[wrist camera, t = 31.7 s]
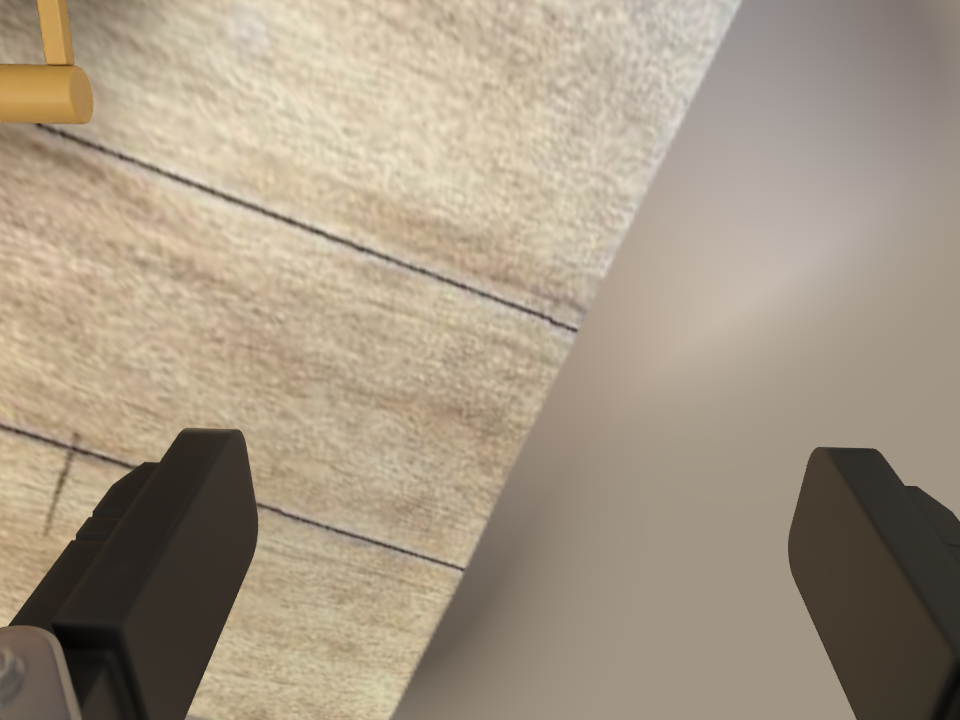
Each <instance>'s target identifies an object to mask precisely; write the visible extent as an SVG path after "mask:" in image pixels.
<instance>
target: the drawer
mask: <svg viewBox="0 0 960 720" xmlns="http://www.w3.org/2000/svg"><path fill="white" fill-rule="evenodd" d="M37 6H38V13H39V20H40V27H41V33H42V40H43V47H44V54H45V60H46V63H47V64H48V65H30V64H0V122H9V123H58V124H85V123H87V122H89V121H90V119H91V116H92V112H93V95H92V89H91V85H90V82H89V80H88V77H87V75H86V73H85V72H84V71H83V69H81V68H80V67H78V66H73V65H74V64H75V63H74V55H73V48H72V41H71V33H70V26H69V19H68V12H67V4H66V0H37Z"/></svg>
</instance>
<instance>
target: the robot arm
mask: <svg viewBox="0 0 960 720" xmlns="http://www.w3.org/2000/svg"><path fill="white" fill-rule="evenodd" d="M257 536H258V514H257V507H256V501H255V495H254V489H253V483H252V477H251V471H250V465H249V459H248V453H247V447H246V442H245V439H244V436H243V434H242V432H241V431H240V430H237V429H203V428H185V429H183V430H182V431H181V432H180V433H179V435H178V436H177V437H176V439H175V440H174V442H173V443H172V445H171V446H170V448H169V449H168V451H167V452H166V454H165V455H164V457H163V458H162V459H161V461H160V462H159V463H154V462H144V463H143V464H141V465H140V466H138V467H137V468H136V469H134V470H133V471H131V472H130V473H129V474H127V475H126V476H124V477H123V478H122V479H120V480H119V481H117V482H116V483H115V484H113V485H112V486H111V488H110V489H109V490H108V492H107V493H106V494H105V496H104V497H103V499H102V500H101V501H100V503H99V504H98V505H97V507H96V508H95V509H94V511H93V516H92V517H88V519H87V520H86V521H85V523H84V524H83V526H82V527H81V528H80V530H79V531H78V532H77V534H76V539H75V540H71V542H70V543H69V544H68V546H67V547H66V548H65V550H64V551H63V553H62V554H61V555H60V557H59V558H58V559H57V561H56V562H55V563H54V565H53V566H52V567H51V569H50V570H49V571H48V573H47V574H46V576H45V577H44V578H43V580H42V581H41V582H40V584H39V585H38V586H37V588H36V589H35V590H34V592H33V593H32V594H31V596H30V597H29V598H28V600H27V601H26V603H25V604H24V605H23V607H22V608H21V609H20V611H19V612H18V613H17V615H16V616H15V617H14V619H13V620H12V621H11V623H10V624H9V626H8V627H2V628H0V720H184V719H185V717H186V715H187V712H188V710H189V708H190V705H191V703H192V701H193V698H194V696H195V694H196V691H197V689H198V686H199V684H200V682H201V679H202V677H203V675H204V672H205V670H206V668H207V665H208V663H209V660H210V658H211V656H212V653H213V651H214V649H215V646H216V644H217V641H218V639H219V637H220V634H221V632H222V630H223V627H224V625H225V623H226V620H227V618H228V615H229V613H230V611H231V608H232V606H233V604H234V601H235V599H236V597H237V594H238V592H239V589H240V587H241V585H242V582H243V580H244V578H245V575H246V573H247V570H248V568H249V566H250V563H251V561H252V558H253V556H254V552H255V548H256V543H257ZM788 553H789V563H790V568H791V572H792V575H793V578H794V580H795V583H796V585H797V587H798V589H799V591H800V594H801V595H802V598H803V600H804V602H805V605H806V607H807V609H808V612H809V614H810V616H811V618H812V621H813V623H814V625H815V627H816V629H817V631H818V634H819V636H820V638H821V641H822V643H823V645H824V647H825V650H826V652H827V654H828V656H829V659H830V661H831V663H832V665H833V667H834V670H835V672H836V674H837V676H838V679H839V681H840V683H841V685H842V688H843V690H844V692H845V694H846V696H847V699H848V701H849V703H850V705H851V708H852V710H853V712H854V714H855V717H856V719H857V720H960V521H959V520H958V519H957V518H956V516H955V515H954V514H953V512H952V511H950V510H949V509H947V508H946V507H944V506H943V505H942V504H941V503H939V502H938V501H936V500H935V499H934V498H932V497H931V496H930V495H928V494H927V493H925V492H924V491H922V490H921V489H920V488H919V487H917V486H905V485H904V484H903V483H902V481H901V480H900V479H899V477H898V476H897V475H896V473H895V472H894V470H893V469H892V468H891V466H890V465H889V463H888V462H887V461H886V459H885V458H884V457H883V455H882V454H881V453H880V452H879V451H877V450H876V449H869V448H867V449H866V448H833V447H818V448H816V449H815V450H814V451H813V452H812V453H811V456H810V458H809V461H808V464H807V468H806V472H805V476H804V479H803V483H802V487H801V491H800V494H799V498H798V502H797V506H796V510H795V513H794V517H793V521H792V525H791V529H790V534H789V540H788Z"/></svg>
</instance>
